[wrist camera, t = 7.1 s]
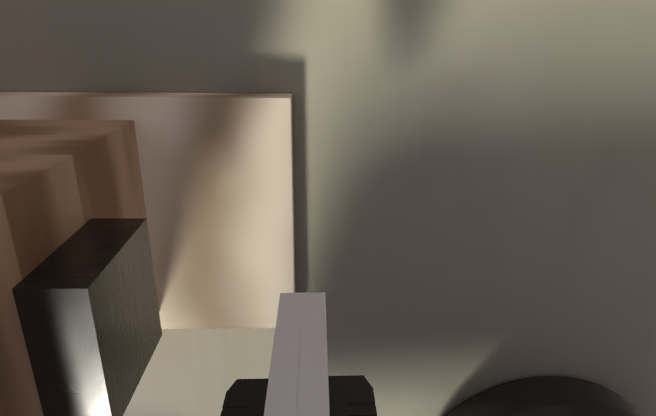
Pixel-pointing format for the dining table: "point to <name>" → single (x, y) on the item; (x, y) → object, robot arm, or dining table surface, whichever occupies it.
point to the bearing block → (150, 202)
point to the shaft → (91, 318)
